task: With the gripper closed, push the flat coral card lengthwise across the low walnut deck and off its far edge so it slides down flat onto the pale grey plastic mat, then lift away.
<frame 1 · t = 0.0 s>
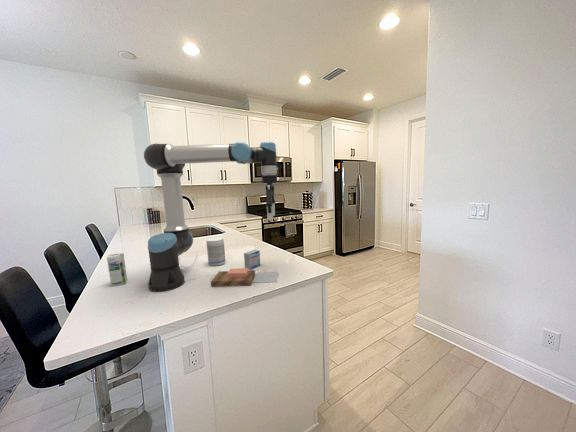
hand: (271, 217, 118), 28 cm above the worktop, fingers open, 13 cm apart
mat: (266, 277, 114), on the worktop
medicine box: (252, 267, 129), on the worktop
deck: (234, 280, 111), on the worktop
card: (238, 274, 112), point 2 cm above the worktop, touching deck
supplement tub: (217, 263, 136), on the worktop
syrup box: (119, 283, 113), on the worktop
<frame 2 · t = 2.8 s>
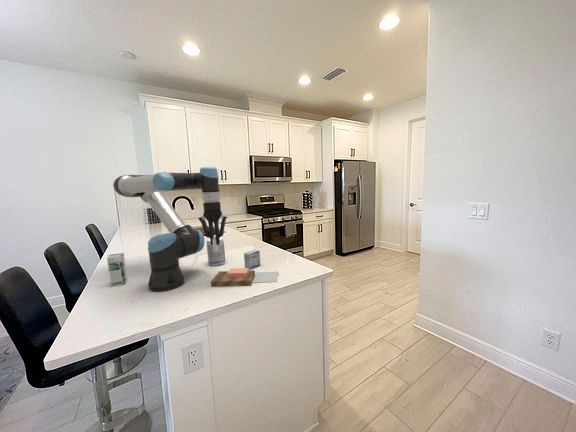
hand: (216, 251, 110), 14 cm above the worktop, fingers closed
nothing on the worktop moved.
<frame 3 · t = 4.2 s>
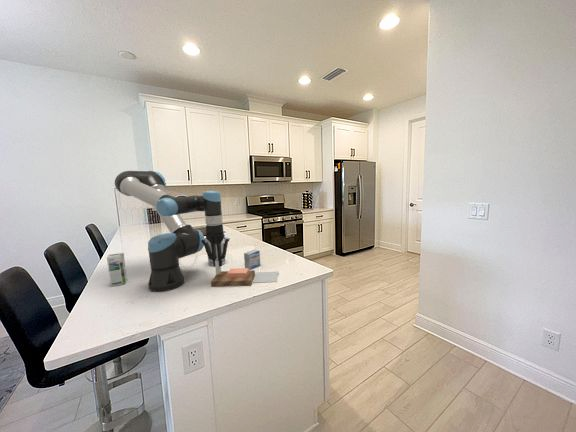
hand: (218, 272, 112), 4 cm above the worktop, fingers closed
nothing on the worktop moved.
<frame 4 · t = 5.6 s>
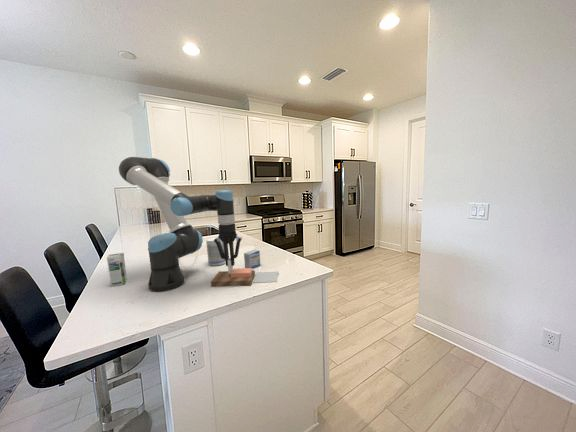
hand: (230, 272, 112), 4 cm above the worktop, fingers closed
card: (242, 274, 112), point 3 cm above the worktop, touching gripper
everything else where it was.
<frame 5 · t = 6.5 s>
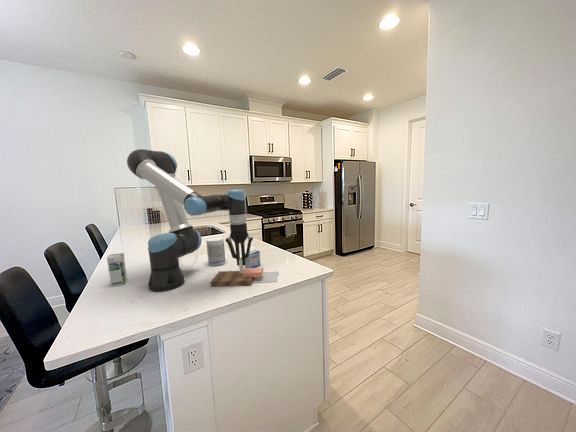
hand: (241, 271, 112), 4 cm above the worktop, fingers closed
card: (253, 274, 112), point 3 cm above the worktop, touching gripper
everything else where it was.
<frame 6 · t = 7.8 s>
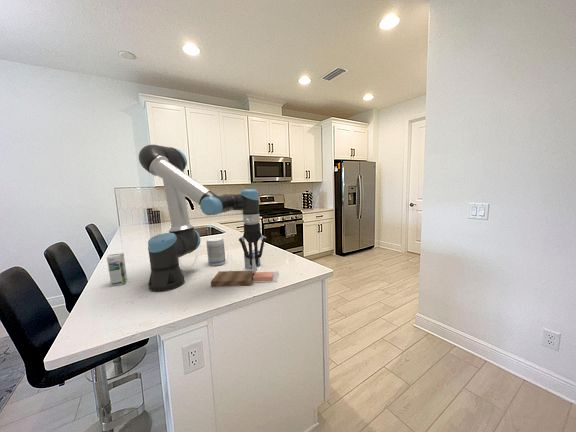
hand: (254, 271, 112), 4 cm above the worktop, fingers closed
card: (263, 278, 112), resting on mat
everything else where it was.
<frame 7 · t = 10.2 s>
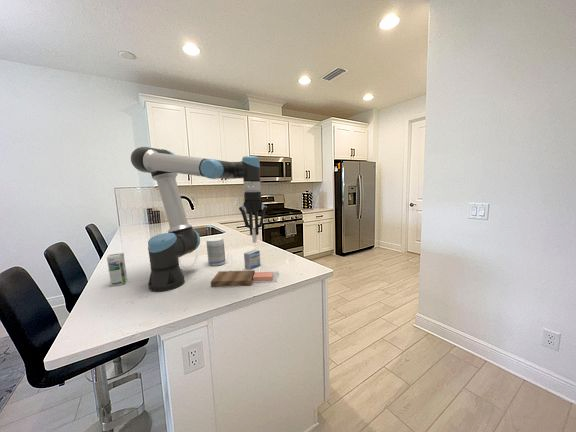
hand: (254, 241, 110), 18 cm above the worktop, fingers closed
nothing on the worktop moved.
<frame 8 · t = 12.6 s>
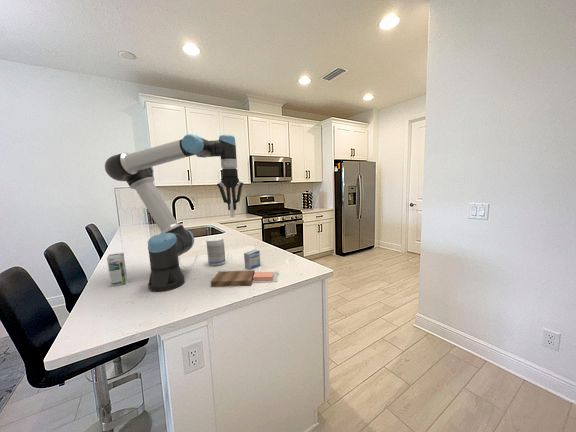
hand: (232, 216, 117), 29 cm above the worktop, fingers closed
nothing on the worktop moved.
at the end: card resting on mat; card inside the target area on the mat (2.2 cm from its centre), point 0.3 cm above the mat's base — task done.
